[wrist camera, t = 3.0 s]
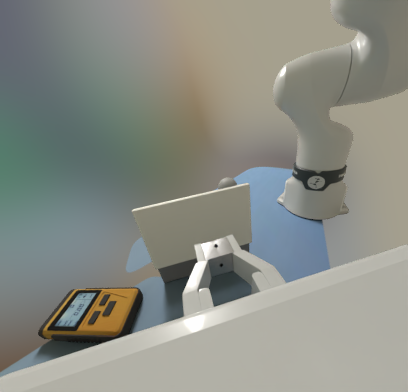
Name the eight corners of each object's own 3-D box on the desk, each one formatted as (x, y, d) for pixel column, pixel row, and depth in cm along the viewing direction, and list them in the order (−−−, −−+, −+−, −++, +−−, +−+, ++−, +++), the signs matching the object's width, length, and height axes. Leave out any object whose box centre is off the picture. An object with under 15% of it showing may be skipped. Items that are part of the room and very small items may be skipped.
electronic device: (126, 346, 25) (117, 338, 23) (44, 343, 27) (31, 335, 25) (146, 293, 32) (140, 284, 31) (81, 293, 34) (72, 285, 33)
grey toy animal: (213, 208, 61) (204, 194, 55) (228, 187, 65) (222, 172, 60) (227, 213, 56) (220, 199, 50) (243, 190, 60) (238, 175, 55)
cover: (247, 183, 27) (249, 184, 26) (250, 239, 32) (251, 242, 32) (133, 209, 25) (131, 211, 24) (155, 266, 30) (155, 269, 29)
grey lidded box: (229, 224, 47) (228, 208, 44) (249, 257, 36) (249, 239, 33) (164, 241, 44) (159, 225, 41) (164, 283, 33) (156, 265, 30)
